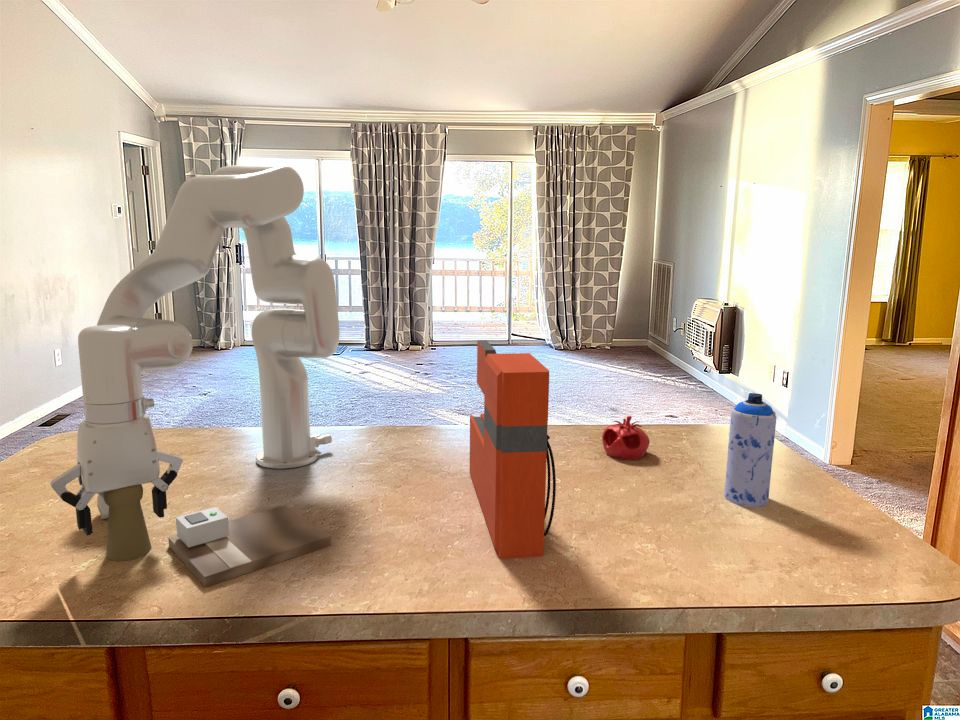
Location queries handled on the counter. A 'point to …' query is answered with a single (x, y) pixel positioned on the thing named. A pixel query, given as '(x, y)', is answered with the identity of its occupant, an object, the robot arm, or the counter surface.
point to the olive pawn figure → (126, 524)
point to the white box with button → (202, 526)
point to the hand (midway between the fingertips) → (124, 523)
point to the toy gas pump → (512, 451)
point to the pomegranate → (625, 440)
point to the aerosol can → (750, 452)
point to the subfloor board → (251, 545)
